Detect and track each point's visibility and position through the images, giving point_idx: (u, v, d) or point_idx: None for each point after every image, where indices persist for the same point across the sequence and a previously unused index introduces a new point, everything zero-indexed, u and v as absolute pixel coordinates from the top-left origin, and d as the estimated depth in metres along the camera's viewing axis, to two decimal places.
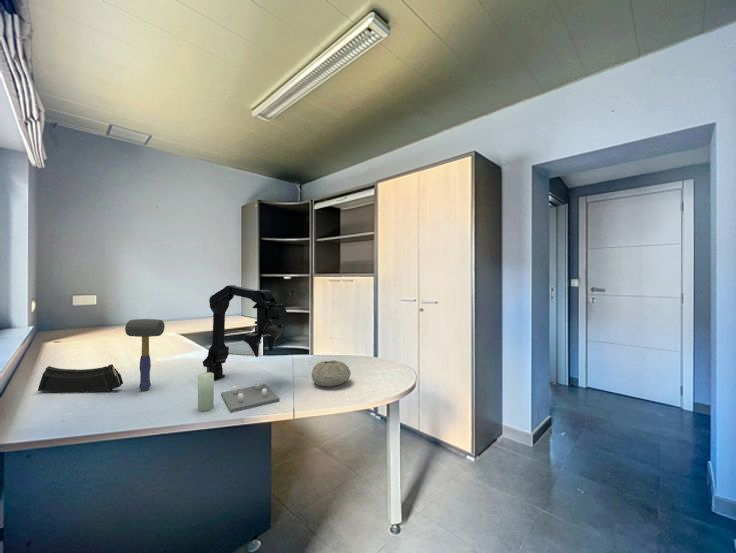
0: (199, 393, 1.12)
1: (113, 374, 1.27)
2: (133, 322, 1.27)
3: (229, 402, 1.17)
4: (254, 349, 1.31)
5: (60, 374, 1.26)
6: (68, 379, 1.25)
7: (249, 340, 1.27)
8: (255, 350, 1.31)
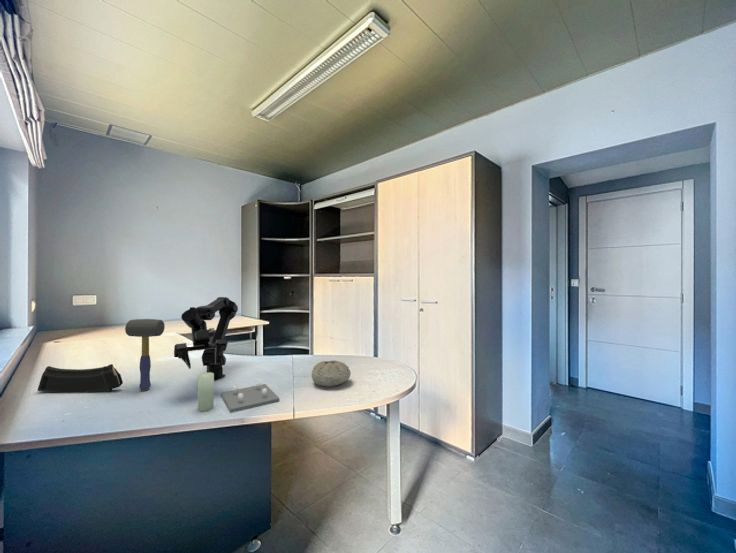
0: (199, 393, 1.12)
1: (113, 374, 1.27)
2: (133, 322, 1.27)
3: (229, 402, 1.17)
4: (185, 361, 1.20)
5: (60, 374, 1.26)
6: (68, 379, 1.25)
7: (174, 351, 1.20)
8: (186, 361, 1.19)
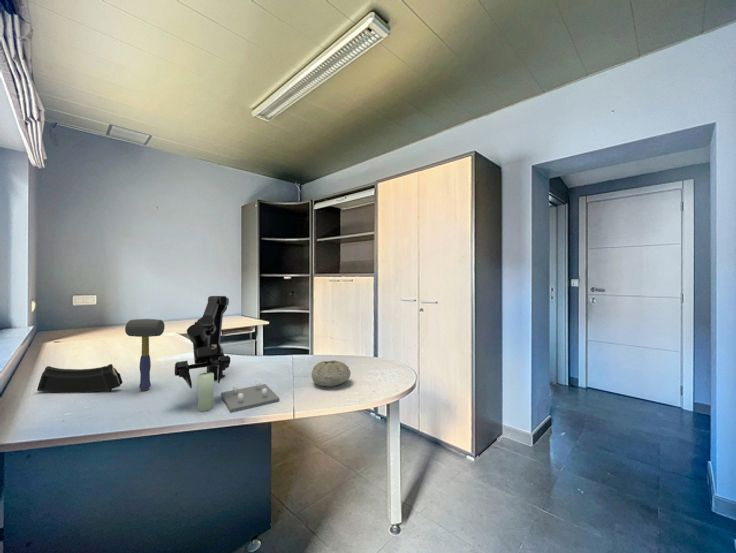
0: (199, 393, 1.12)
1: (112, 374, 1.27)
2: (133, 322, 1.27)
3: (229, 402, 1.17)
4: (186, 380, 1.14)
5: (60, 374, 1.26)
6: (68, 379, 1.25)
7: (175, 369, 1.14)
8: (187, 380, 1.13)
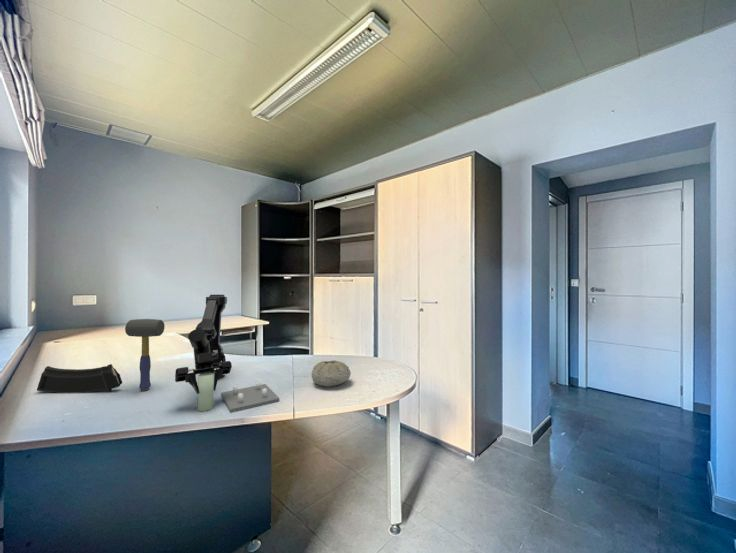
0: (199, 393, 1.12)
1: (112, 374, 1.27)
2: (133, 322, 1.27)
3: (229, 402, 1.17)
4: (193, 385, 1.13)
5: (59, 374, 1.26)
6: (68, 379, 1.25)
7: (175, 376, 1.12)
8: (193, 386, 1.13)
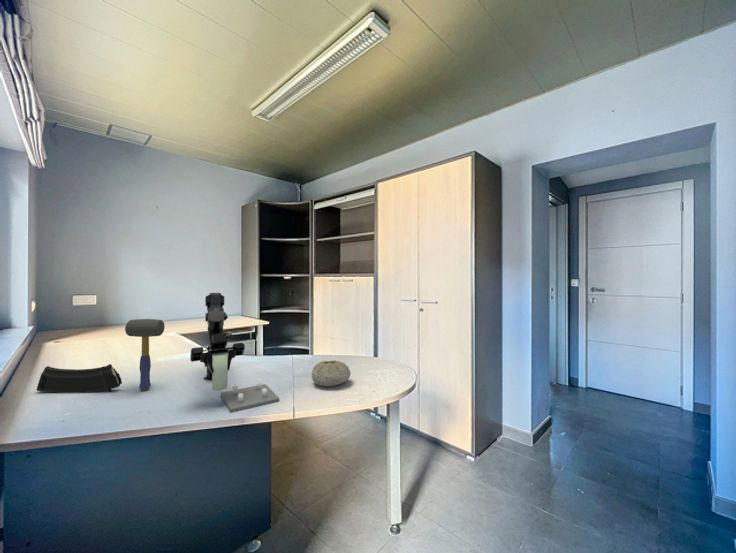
0: (213, 372, 1.15)
1: (112, 374, 1.27)
2: (133, 322, 1.27)
3: (229, 402, 1.17)
4: (208, 365, 1.16)
5: (59, 374, 1.26)
6: (67, 379, 1.25)
7: (190, 355, 1.15)
8: (208, 365, 1.16)
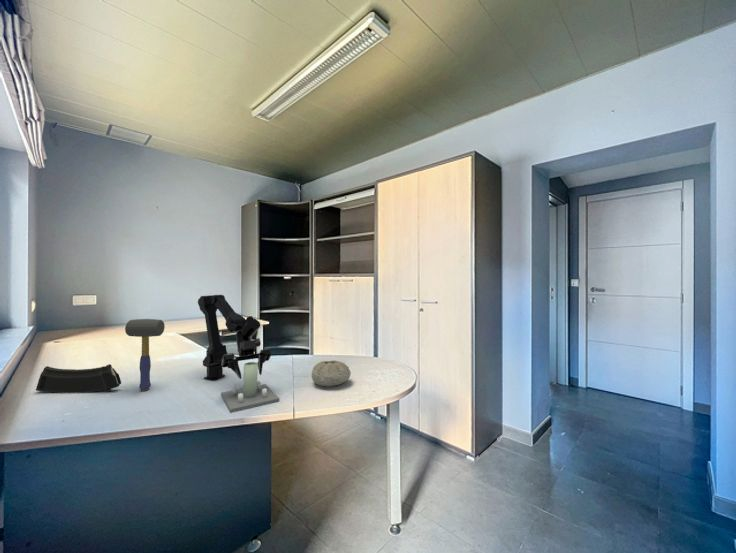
0: (245, 381, 1.22)
1: (111, 374, 1.27)
2: (133, 322, 1.27)
3: (229, 402, 1.17)
4: (236, 371, 1.22)
5: (58, 374, 1.25)
6: (67, 379, 1.25)
7: (222, 361, 1.22)
8: (236, 371, 1.21)
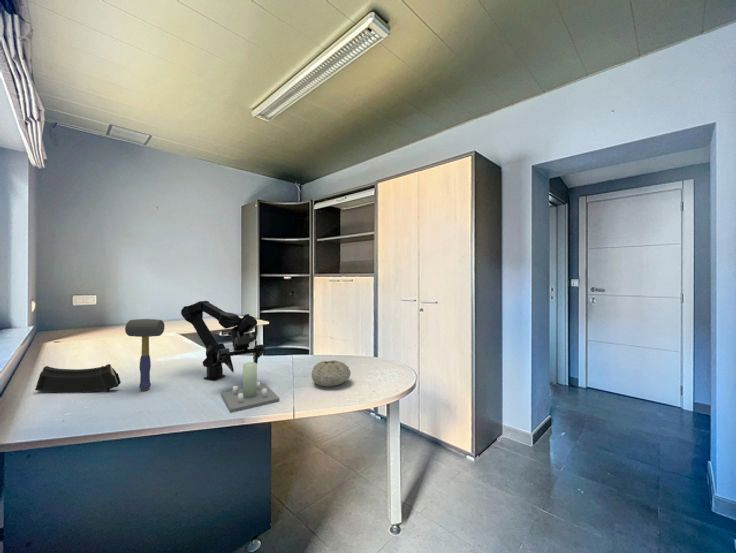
0: (244, 381, 1.22)
1: (111, 374, 1.27)
2: (133, 322, 1.27)
3: (229, 402, 1.17)
4: (228, 365, 1.29)
5: (58, 374, 1.25)
6: (66, 379, 1.25)
7: (218, 356, 1.29)
8: (229, 365, 1.29)
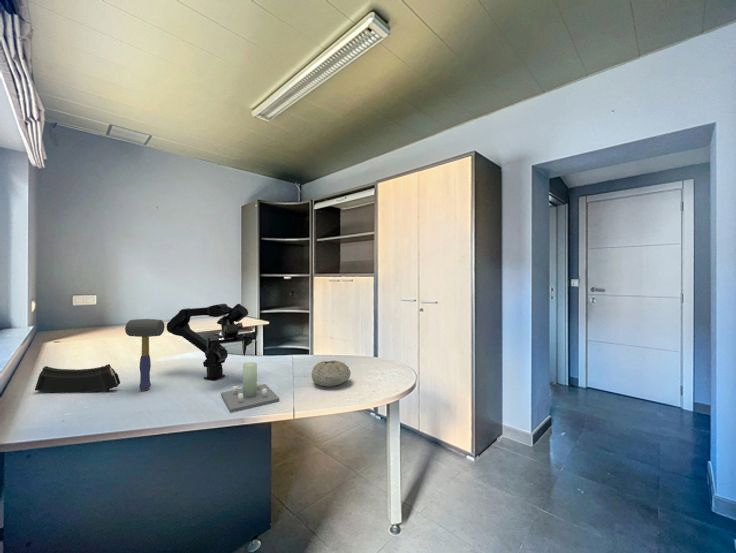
0: (244, 381, 1.22)
1: (110, 374, 1.27)
2: (133, 322, 1.27)
3: (229, 402, 1.17)
4: (217, 352, 1.33)
5: (57, 374, 1.25)
6: (65, 379, 1.25)
7: (207, 343, 1.33)
8: (218, 352, 1.32)
